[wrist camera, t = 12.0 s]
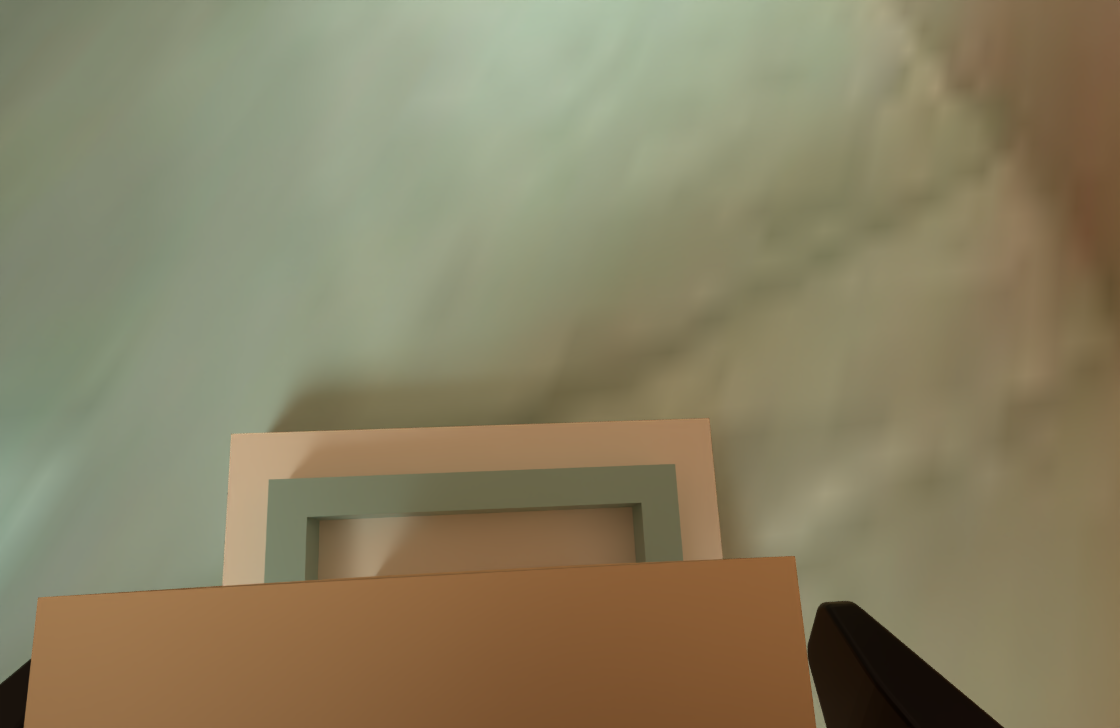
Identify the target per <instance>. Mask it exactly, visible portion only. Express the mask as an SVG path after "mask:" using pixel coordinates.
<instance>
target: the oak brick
mask: <svg viewBox="0 0 1120 728" xmlns="http://www.w3.org/2000/svg"><path fill="white" fill-rule="evenodd" d="M24 728H816V723H815V715H814V707H813V699H812V691H811V682H810V674H809V666H808V658H807V650H806V642H805V634H804V626H803V618H802V610H801V602H800V594H799V586H798V578H797V570H796V562H795V556H785V557H761V558H737V559H713V560H689V561H665V562H641V563H617V564H593V565H571V566H553V567H535V568H516V569H498V570H480V571H461V572H443V573H424V574H406V575H388V576H370V577H355V578H339V579H323V580H307V581H292V582H276V583H260V584H244V585H229V586H213V587H197V588H181V589H166V590H150V591H134V592H118V593H103V594H87V595H71V596H56V597H40V598H38V603H37V612H36V622H35V631H34V640H33V649H32V658H31V667H30V676H29V685H28V694H27V703H26V712H25V721H24Z"/></svg>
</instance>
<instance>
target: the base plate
mask: <svg viewBox="0 0 1120 728" xmlns="http://www.w3.org/2000/svg"><path fill="white" fill-rule="evenodd" d="M713 559H723V555H722V545H721V535H720V524H719V514H718V504H717V493H716V483H715V473H714V463H713V452H712V442H711V432H710V421H709V418H698V419H668V420H638V421H608V422H577V423H547V424H517V425H487V426H457V427H427V428H396V429H366V430H336V431H306V432H276V433H246V434H231V448H230V465H229V483H228V500H227V517H226V534H225V551H224V568H223V586H229V585H244V584H260V583H276V582H292V581H307V580H323V579H339V578H355V577H370V576H388V575H406V574H424V573H443V572H461V571H480V570H498V569H516V568H535V567H553V566H571V565H593V564H617V563H641V562H665V561H689V560H713Z"/></svg>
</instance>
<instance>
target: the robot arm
mask: <svg viewBox="0 0 1120 728" xmlns="http://www.w3.org/2000/svg"><path fill="white" fill-rule="evenodd" d="M808 661H809V665H810V669H811V673H812V676H813V680H814V683H815V687H816V691H817V694H818V698H819V702H820V705H821V709H822V712H823V716H824V720H825V723H826V727H827V728H1004V727H1003V726H1001V725H1000V724H999V723H998V722H997V721H995V720H994V719H993V718H992V717H991V716H989V715H988V714H987V713H986V712H985V711H984V710H982V709H981V708H980V707H979V706H978V705H976V704H975V703H974V702H973V701H972V700H970V699H969V698H968V697H967V696H966V695H964V694H963V693H962V692H961V691H960V690H958V689H957V688H956V687H955V686H954V685H953V684H951V683H950V682H949V681H948V680H947V679H945V678H944V677H943V676H942V675H941V674H939V673H938V672H937V671H936V670H935V669H933V668H932V667H931V666H930V665H929V664H927V663H926V662H925V661H924V660H923V659H921V658H920V657H919V656H918V655H917V654H916V653H914V652H913V651H912V650H911V649H910V648H908V647H907V646H906V645H905V644H904V643H902V642H901V641H900V640H899V639H898V638H896V637H895V636H894V635H893V634H892V633H890V632H889V631H888V630H887V629H886V628H885V627H883V626H882V625H881V624H880V623H879V622H877V621H876V620H875V619H874V618H873V617H871V616H870V615H869V614H868V613H867V612H865V611H864V610H863V609H862V608H861V607H859V606H858V605H857V604H855V603H853V602H850V601H835V602H824V603H822V604H821V605H820V606H819V607H818V610H817V613H816V616H815V620H814V624H813V627H812V631H811V635H810V639H809V642H808ZM30 667H31V659H30V660H29V661H28V662H26V663H25V664H24V665H23V666H21V667H20V668H19V669H18V670H17V671H15V672H14V673H13V674H12V675H11V676H9V677H8V678H7V679H6V680H5V681H3V682H2V683H1V684H0V728H24V721H25V712H26V703H27V694H28V685H29V676H30Z"/></svg>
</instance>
